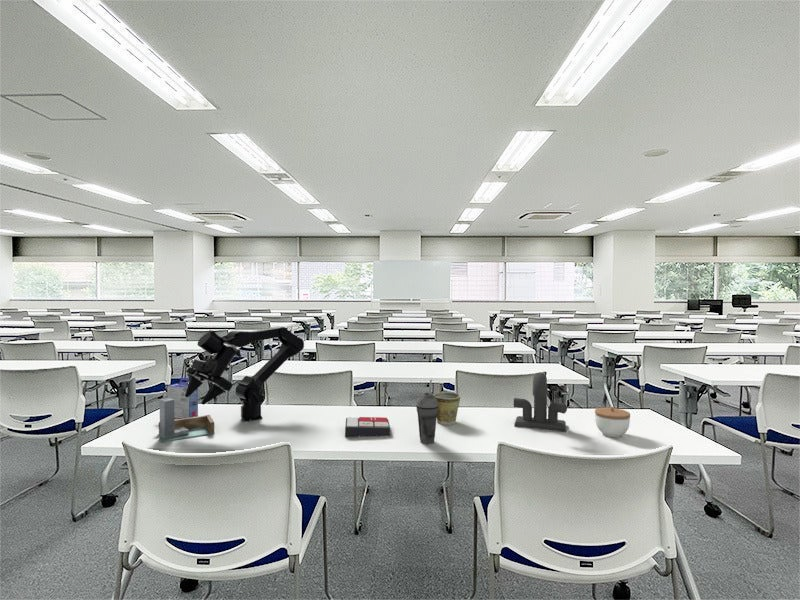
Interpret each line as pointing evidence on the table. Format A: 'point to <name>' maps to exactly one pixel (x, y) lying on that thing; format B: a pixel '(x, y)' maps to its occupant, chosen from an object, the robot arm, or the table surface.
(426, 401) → the beverage cup
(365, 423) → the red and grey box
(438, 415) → the ceramic cup
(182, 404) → the ink cartridge box
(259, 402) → the robot arm
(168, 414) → the angle bracket
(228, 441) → the table surface
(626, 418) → the lidded jar
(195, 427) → the tray
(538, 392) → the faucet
